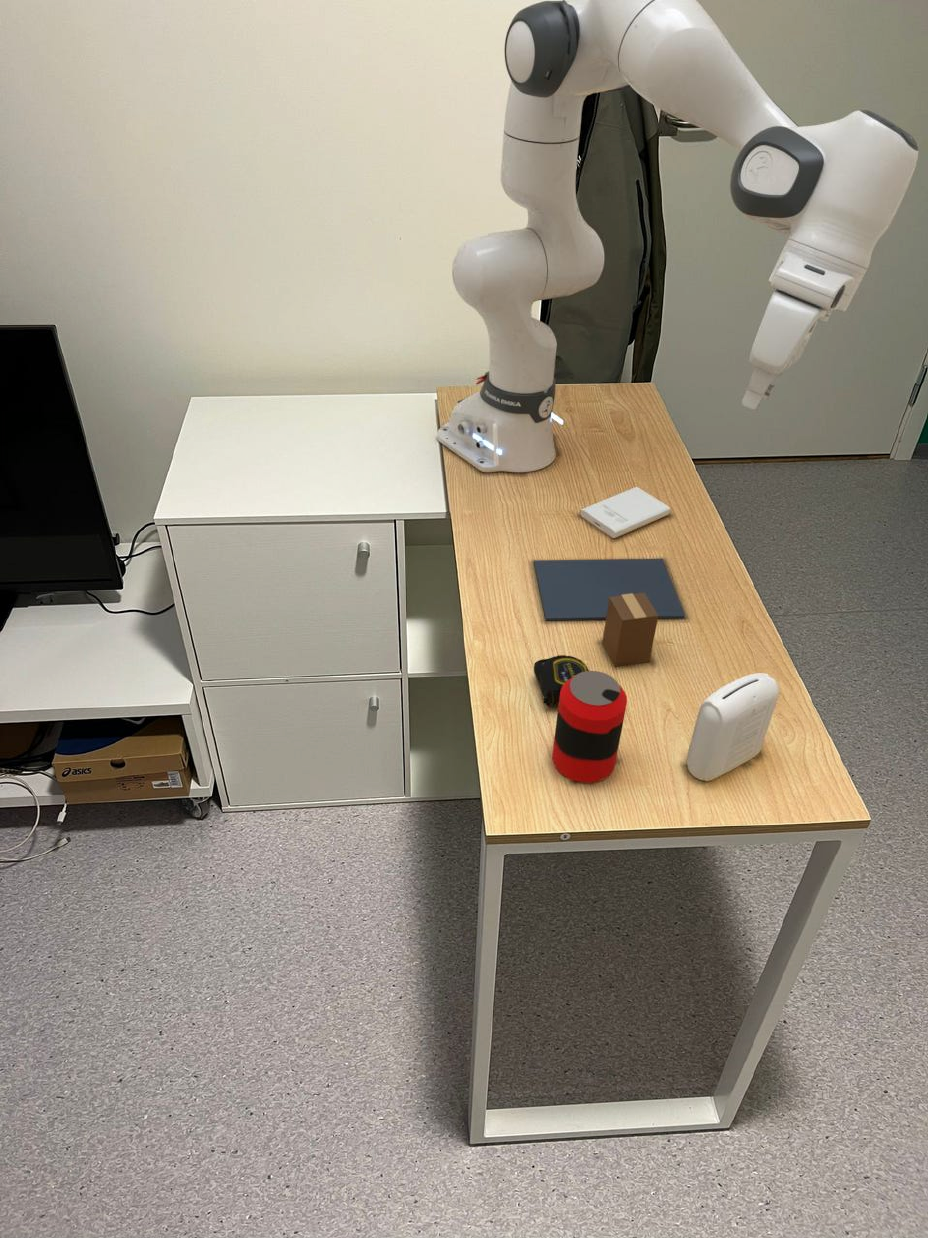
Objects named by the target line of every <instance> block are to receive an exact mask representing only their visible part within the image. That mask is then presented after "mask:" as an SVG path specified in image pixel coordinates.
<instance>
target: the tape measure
mask: <svg viewBox="0 0 928 1238" xmlns="http://www.w3.org/2000/svg"><path fill="white" fill-rule="evenodd" d="M585 671H590V670H589V668H588V666H587V665H586V664H585V663H584V662H583V660H581V659H579V658H577V657H575V656H572V655H566V654H561V655H560V654H559V655H556V656H552V657H549V658H543V659H542V658H541V659H539V660H537V661H535V662H534V663H533V672H534V673H533V674H534V676H535V678H536V681H537V682H538V684H539V686H540V691H541V695H542V697H543V698H542V700H543V701H542V703H543V704H545V705H546V706H547V707H553V706H555V707H556V706H557V705H558V704H559V698H560V691H561V688H562V686H563V685H564V683H565V682H566V681H568V680H569V679H571V678H572V677H574V676H575V675H577V674H579V673H581V672H585Z"/></svg>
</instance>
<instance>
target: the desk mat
mask: <svg viewBox="0 0 928 1238" xmlns="http://www.w3.org/2000/svg"><path fill="white" fill-rule="evenodd" d="M665 563H666V562H665V560H664V558H618V559H617V558H613V559H609V558H608V559H547V560H545V559H544V560H541V559H540V560H539V559H538V560H534V561H533V566H534V570H535V575H536V580H537V585H538V590H539V595H540V599H541V604H542V609H543V613H544V619H545V621H546V622H555V621H559V622H560V621H604V620H605V621H606V615H607V609H608V603H609V597H615V596H621V595H623V594H631V593H633V594H639V593H645V595H646V596H647V598H648V599H649V601H650V603H651V604H652V606H653V607H654V609H655V611H656V612H657V614H658V620H660V619H661V620H662V619H663V620H664V619H665V620H669V619H671V620H672V619H686V618H685V617H686V615H685V612H684V610H683V607H682V605H681V602H680V599H679V596H678V594H677V592H676V589H675V587H674V583H673V581H672V578H671V576H670V573H669V571H668V569H667V566H666V564H665Z"/></svg>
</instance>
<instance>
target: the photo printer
mask: <svg viewBox="0 0 928 1238" xmlns="http://www.w3.org/2000/svg"><path fill="white" fill-rule="evenodd" d="M779 696H780V689H779V686H778V683H777V680H776V679H775V678H774V677H771V676H770V675H769V674H768V673H767V672H758V673H757V672H756V673H751V674H748V675H747V674H746V675H744V676H742V677H739V678H736V679H735V680H733V681H730V682H728V683H727V684H725V685H724V686H722V687H720V688H718V689H717V690H715V691H714V692H713V693H711V694H710V695H709V696H708V697H706V699H705V700H703V702H702V703H701V704H700V706H699V709H698V713H697V715H696V720H695V724H694V728H693V732H692V735H691V739H690V742H689V747H688V750H687V754H686V758H685V763H686V765H687V770H688V771H689V773H690V774H691V776H693V777H694V778H696V779H698V780H699V781H705V782H709V781H712V780H715V779H716V778H718V777H719V778H720V777H721V776H724V774H725V775H726V774H727V773H728V772H730V771H733V770H734V769H736V768H738V767H739V766H741V765H743V764H745V763H746V762H748V761H750V760H752V759H753V758H755V757H757V755H758V754H760V752H761V750H762V748H763V745H764V742H765V739H766V735H767V733H768V730H769V726H770V724H771V720H772V718H773V714H774V712H775V709H776V705H777V702H778V699H779Z"/></svg>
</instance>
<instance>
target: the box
mask: <svg viewBox="0 0 928 1238" xmlns="http://www.w3.org/2000/svg"><path fill="white" fill-rule="evenodd" d="M658 621H659V619H658V614H657V612H656V611H655V609H654V607H653V606H652V604H651V603H650V601H649V599H648V598H647V596H646V595H645V593H639V594H633V593H631V594H623V595H621V596H615V597H609V603H608V609H607V615H606V620H605V623H604V628H603V635H602V641H601V643H602V646H603V647H604V649H605V651H606V653H607V656H608V657H609V659H610V660H611V663H612V664H613V666H614V667H619V666H621V667H622V666H628V665H635V664H642V663H649V662H650V660H651V657H652V656H651V655H652V650H653V646H654V641H655V636H656V631H657V625H658Z"/></svg>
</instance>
